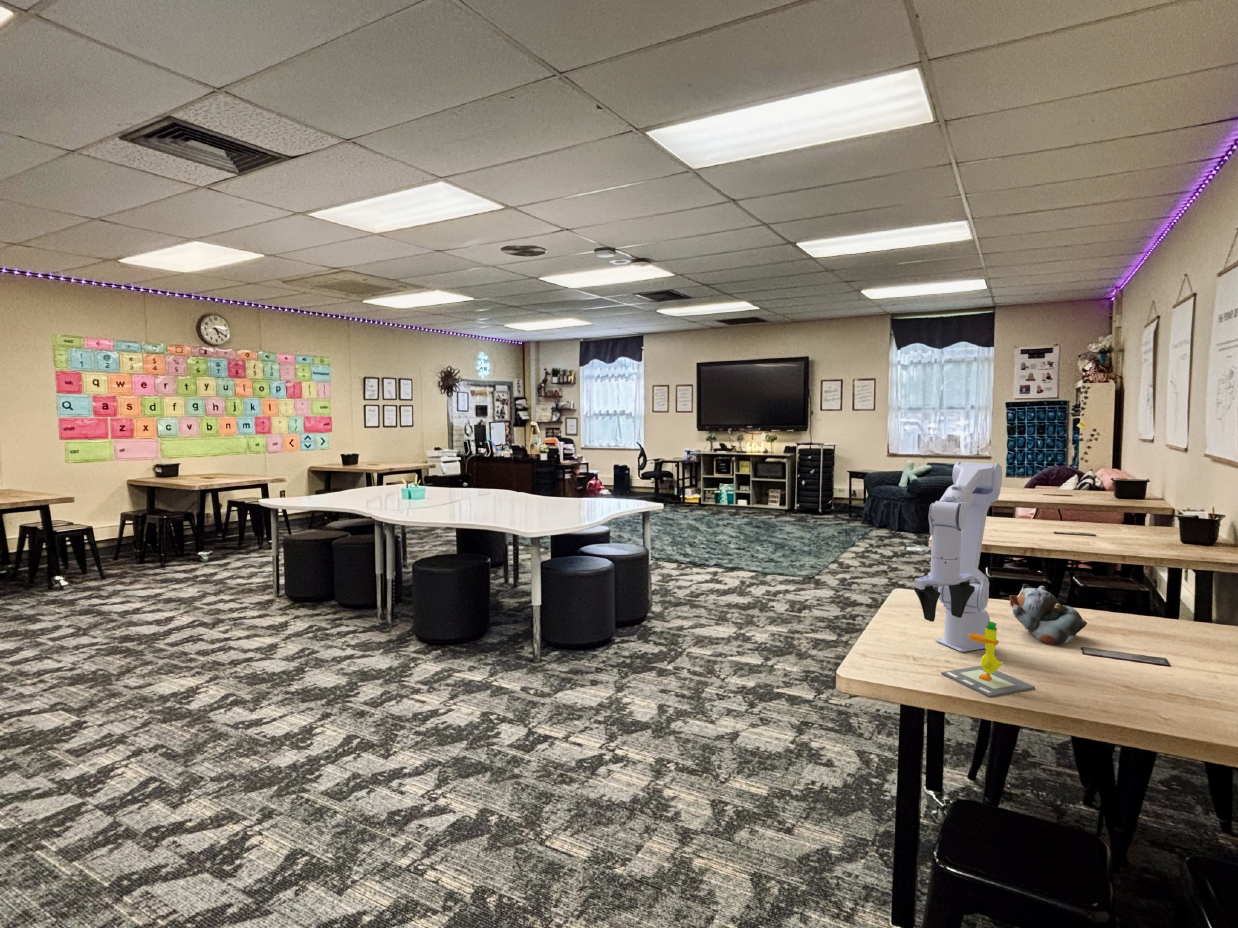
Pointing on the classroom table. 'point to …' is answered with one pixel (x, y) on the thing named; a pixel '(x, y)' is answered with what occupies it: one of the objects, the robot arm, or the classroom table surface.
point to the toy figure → (988, 650)
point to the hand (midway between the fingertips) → (943, 618)
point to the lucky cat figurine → (1046, 616)
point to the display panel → (989, 688)
